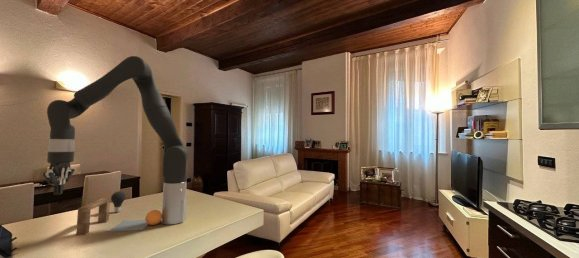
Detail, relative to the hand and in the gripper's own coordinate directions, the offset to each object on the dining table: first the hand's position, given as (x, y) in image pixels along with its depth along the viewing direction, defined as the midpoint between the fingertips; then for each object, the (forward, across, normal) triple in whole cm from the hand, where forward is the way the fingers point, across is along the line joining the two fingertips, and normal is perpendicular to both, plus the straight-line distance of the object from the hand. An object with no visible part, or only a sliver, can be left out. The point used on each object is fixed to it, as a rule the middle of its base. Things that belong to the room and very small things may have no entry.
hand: (58, 194), depth 90 cm
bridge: (+14, 0, -13) cm, 19 cm away
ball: (+10, 0, -35) cm, 37 cm away
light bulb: (+14, +20, -12) cm, 27 cm away
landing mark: (+14, 0, -27) cm, 30 cm away
